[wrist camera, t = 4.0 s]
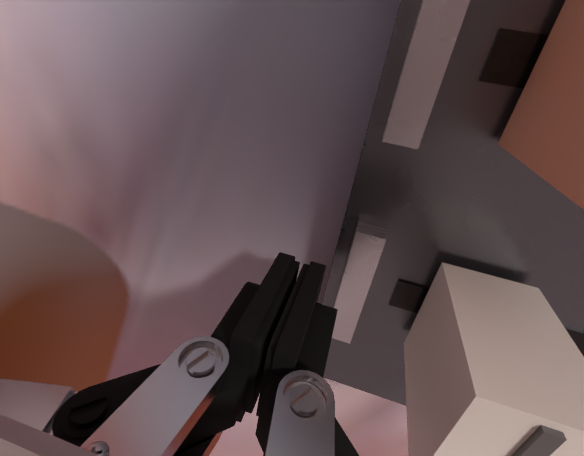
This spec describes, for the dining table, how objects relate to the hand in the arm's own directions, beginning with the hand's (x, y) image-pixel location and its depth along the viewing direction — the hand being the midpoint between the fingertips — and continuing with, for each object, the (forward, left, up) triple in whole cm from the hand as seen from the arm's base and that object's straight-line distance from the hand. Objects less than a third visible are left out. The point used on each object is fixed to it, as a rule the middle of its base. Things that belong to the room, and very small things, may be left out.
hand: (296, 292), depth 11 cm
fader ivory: (0, +6, -1) cm, 6 cm away
